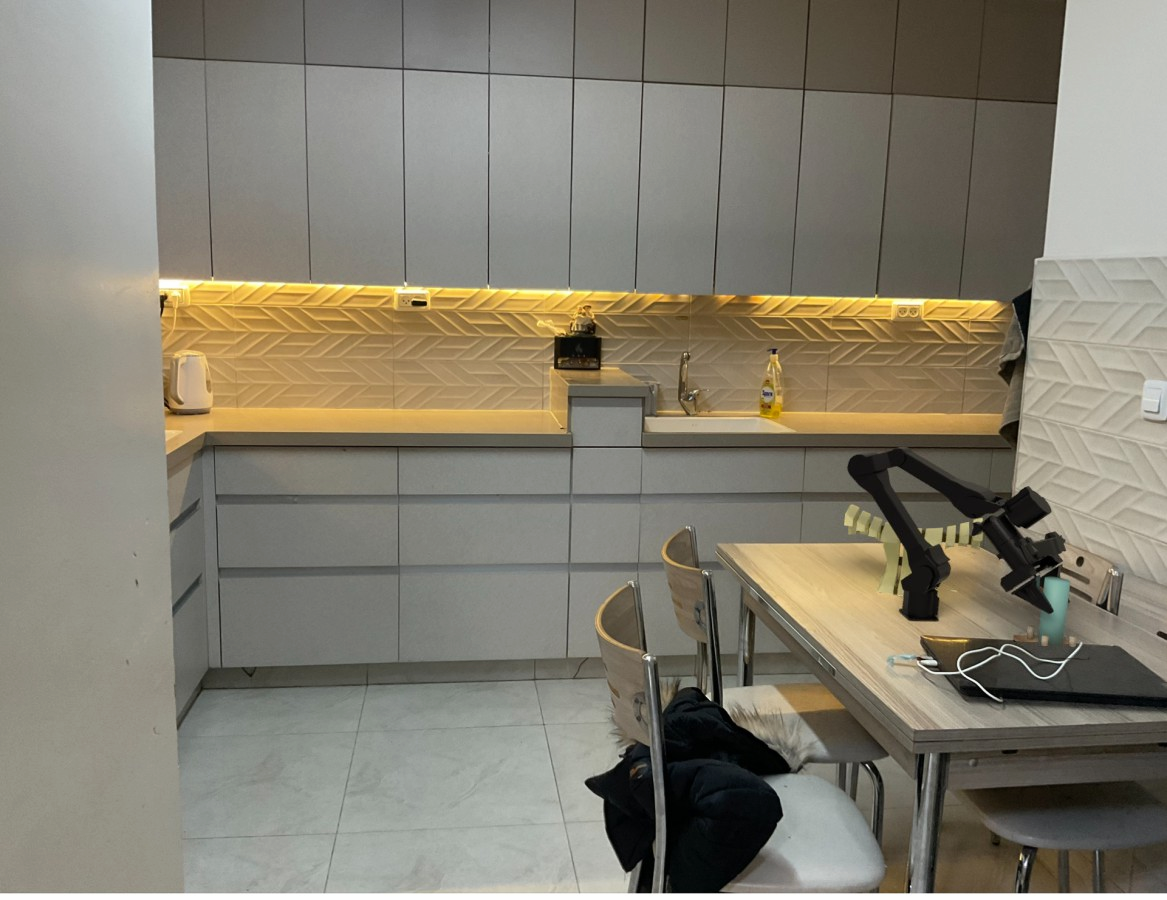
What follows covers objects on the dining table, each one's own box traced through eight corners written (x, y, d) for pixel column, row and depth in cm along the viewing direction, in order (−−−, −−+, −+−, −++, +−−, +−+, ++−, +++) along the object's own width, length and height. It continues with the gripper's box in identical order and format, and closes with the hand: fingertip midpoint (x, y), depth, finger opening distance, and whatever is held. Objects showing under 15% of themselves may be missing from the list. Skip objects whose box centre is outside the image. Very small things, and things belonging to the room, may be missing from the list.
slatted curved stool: (974, 587, 234) (982, 515, 231) (975, 606, 219) (983, 529, 216) (846, 571, 244) (852, 501, 242) (839, 587, 230) (845, 513, 227)
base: (1037, 658, 187) (1039, 639, 186) (1012, 640, 197) (1014, 622, 196) (1088, 659, 187) (1090, 641, 187) (1061, 641, 197) (1063, 624, 196)
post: (1038, 645, 190) (1046, 581, 188) (1036, 638, 195) (1043, 575, 193) (1063, 649, 189) (1071, 584, 187) (1061, 642, 193) (1068, 578, 191)
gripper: (1023, 526, 184) (1079, 596, 178) (1057, 513, 198) (1110, 578, 192) (978, 557, 191) (1030, 626, 185) (1013, 543, 204) (1063, 606, 198)
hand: (1060, 608), depth 190 cm, fingers open, 9 cm apart
